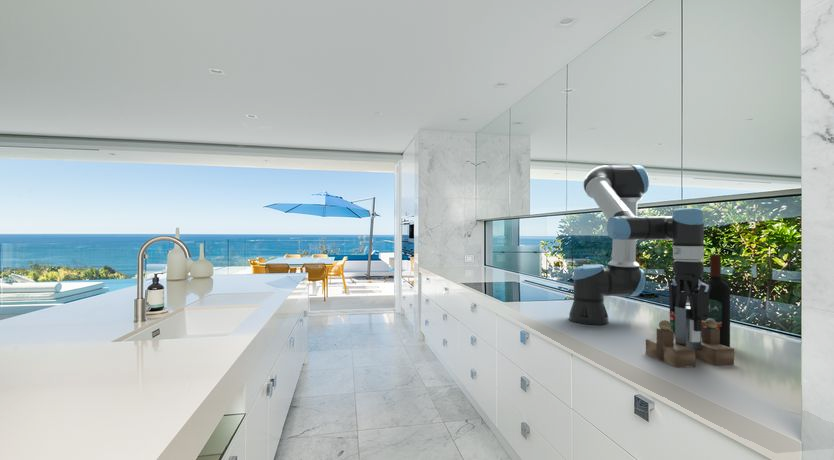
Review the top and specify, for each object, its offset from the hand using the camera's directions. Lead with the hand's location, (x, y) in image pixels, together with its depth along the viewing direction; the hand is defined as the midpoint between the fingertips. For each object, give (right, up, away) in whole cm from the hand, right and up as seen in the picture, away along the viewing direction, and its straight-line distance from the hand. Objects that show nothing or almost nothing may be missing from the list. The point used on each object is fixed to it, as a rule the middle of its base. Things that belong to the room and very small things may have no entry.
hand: (688, 339), depth 114 cm
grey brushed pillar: (0, -3, 0) cm, 3 cm away
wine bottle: (+18, -6, +14) cm, 24 cm away
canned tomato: (+18, -6, +30) cm, 35 cm away
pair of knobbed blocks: (0, -6, 0) cm, 6 cm away
